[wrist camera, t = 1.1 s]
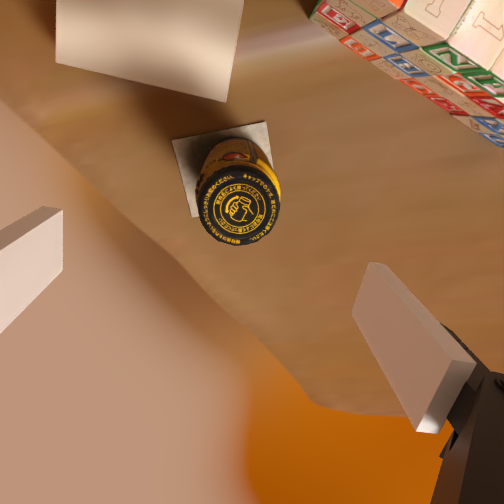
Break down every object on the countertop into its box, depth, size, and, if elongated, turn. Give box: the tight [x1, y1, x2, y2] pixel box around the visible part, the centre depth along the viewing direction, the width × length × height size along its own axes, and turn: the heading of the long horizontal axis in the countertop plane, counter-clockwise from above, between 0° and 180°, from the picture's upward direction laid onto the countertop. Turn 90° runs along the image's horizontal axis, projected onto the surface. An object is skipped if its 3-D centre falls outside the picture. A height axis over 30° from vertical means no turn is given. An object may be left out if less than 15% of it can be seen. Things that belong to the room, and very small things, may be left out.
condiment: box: [172, 122, 280, 246], centre depth 28 cm, size 7×8×12 cm
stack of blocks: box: [309, 0, 504, 148], centre depth 25 cm, size 21×6×12 cm, turn 62°
